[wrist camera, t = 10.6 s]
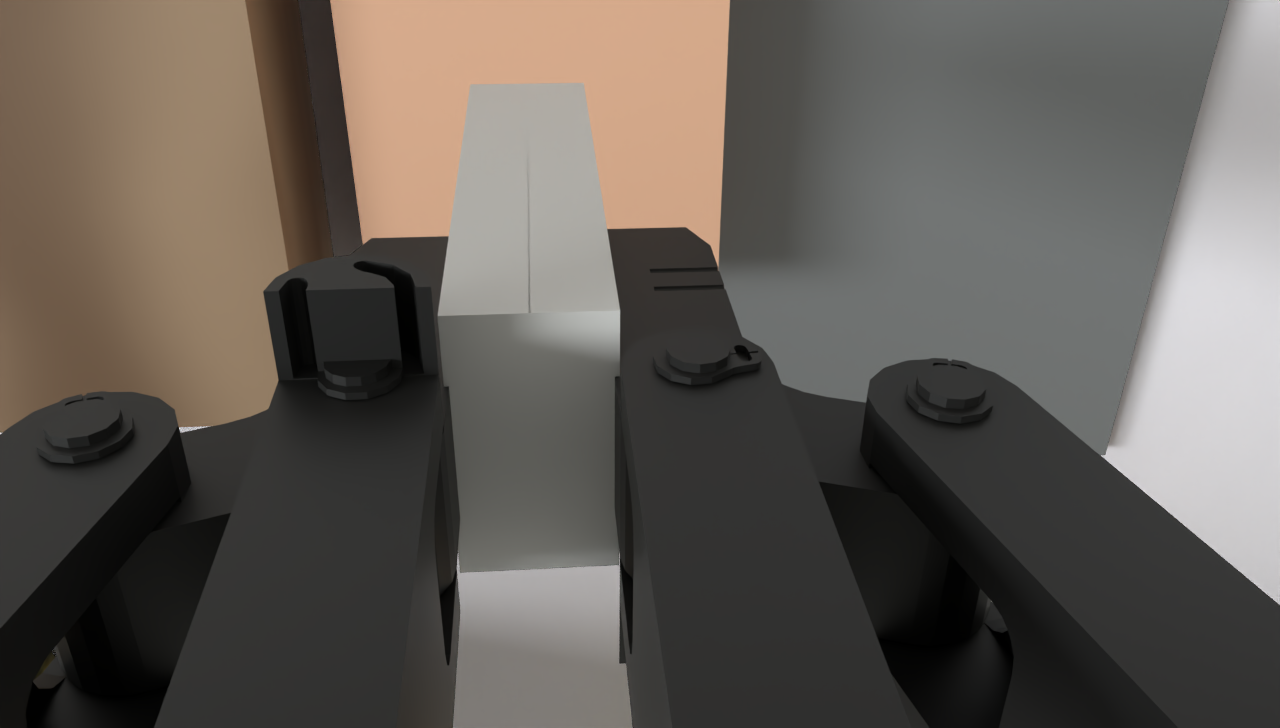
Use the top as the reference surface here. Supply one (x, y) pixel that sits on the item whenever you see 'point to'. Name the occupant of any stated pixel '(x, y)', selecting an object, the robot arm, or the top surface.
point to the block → (528, 54)
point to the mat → (957, 186)
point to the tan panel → (151, 199)
